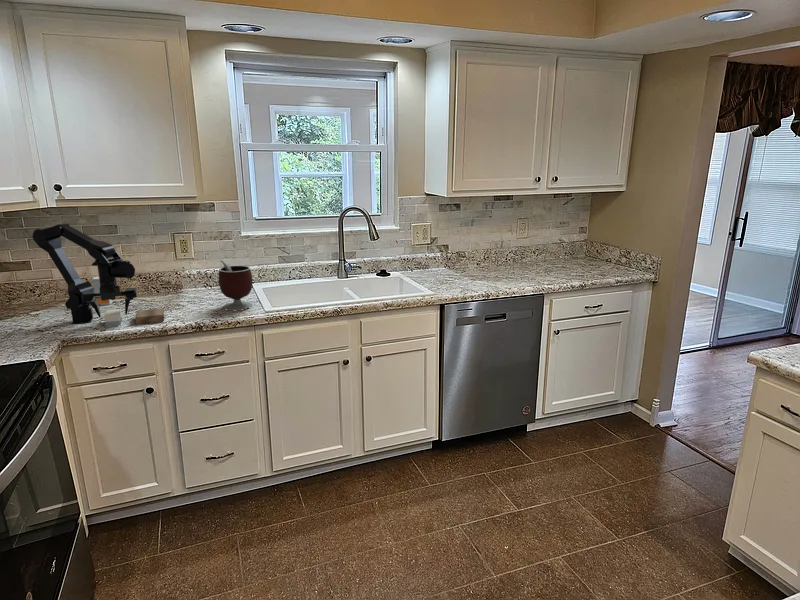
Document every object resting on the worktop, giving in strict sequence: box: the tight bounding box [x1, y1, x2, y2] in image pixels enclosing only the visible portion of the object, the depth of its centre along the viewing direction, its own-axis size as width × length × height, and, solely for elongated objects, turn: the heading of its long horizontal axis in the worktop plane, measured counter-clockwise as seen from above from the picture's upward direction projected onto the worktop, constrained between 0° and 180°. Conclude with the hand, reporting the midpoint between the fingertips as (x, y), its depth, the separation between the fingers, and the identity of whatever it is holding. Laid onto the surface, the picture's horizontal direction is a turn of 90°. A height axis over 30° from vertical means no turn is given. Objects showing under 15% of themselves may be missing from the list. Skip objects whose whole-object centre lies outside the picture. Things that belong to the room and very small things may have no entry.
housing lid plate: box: [104, 308, 123, 323], centre depth 208 cm, size 5×8×2 cm, turn 22°
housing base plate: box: [104, 316, 123, 328], centre depth 208 cm, size 5×8×2 cm, turn 22°
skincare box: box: [91, 276, 113, 306], centre depth 234 cm, size 6×4×12 cm
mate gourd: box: [218, 259, 253, 311], centre depth 229 cm, size 16×14×20 cm
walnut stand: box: [134, 307, 165, 326], centre depth 213 cm, size 10×10×3 cm
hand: (113, 315), depth 208 cm, fingers open, 9 cm apart
